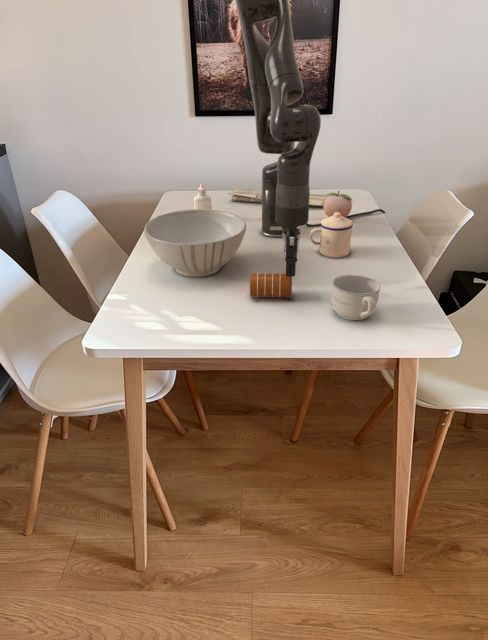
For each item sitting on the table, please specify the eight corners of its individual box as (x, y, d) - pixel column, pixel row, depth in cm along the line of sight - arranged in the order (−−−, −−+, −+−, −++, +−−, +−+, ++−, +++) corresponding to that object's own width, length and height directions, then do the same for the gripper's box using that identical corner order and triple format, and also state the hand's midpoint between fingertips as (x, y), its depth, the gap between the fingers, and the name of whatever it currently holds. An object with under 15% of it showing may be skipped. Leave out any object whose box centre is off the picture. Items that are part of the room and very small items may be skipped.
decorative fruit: (319, 224, 182) (321, 193, 177) (324, 216, 189) (326, 186, 183) (348, 226, 180) (351, 196, 174) (352, 218, 186) (355, 188, 181)
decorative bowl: (209, 298, 138) (207, 252, 132) (128, 274, 150) (122, 231, 144) (264, 260, 157) (264, 218, 151) (188, 242, 169) (185, 203, 163)
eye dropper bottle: (209, 222, 184) (208, 186, 178) (193, 221, 185) (191, 185, 179) (213, 218, 188) (211, 182, 181) (197, 217, 189) (195, 181, 182)
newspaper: (329, 199, 204) (329, 190, 202) (325, 210, 194) (325, 200, 192) (235, 194, 211) (235, 184, 209) (226, 204, 201) (226, 194, 199)
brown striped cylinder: (249, 302, 136) (249, 278, 132) (251, 291, 141) (251, 267, 138) (291, 303, 135) (292, 279, 132) (290, 291, 141) (291, 268, 137)
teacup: (325, 304, 135) (327, 273, 130) (369, 302, 135) (373, 271, 131) (338, 333, 123) (341, 301, 119) (386, 331, 124) (391, 298, 119)
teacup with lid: (347, 246, 166) (350, 207, 160) (352, 258, 158) (356, 218, 152) (306, 246, 166) (308, 208, 159) (310, 259, 158) (312, 219, 152)
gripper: (310, 212, 119) (306, 281, 128) (308, 192, 131) (304, 257, 140) (275, 211, 119) (274, 281, 128) (276, 192, 131) (274, 257, 140)
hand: (290, 268), depth 134 cm, fingers open, 8 cm apart
